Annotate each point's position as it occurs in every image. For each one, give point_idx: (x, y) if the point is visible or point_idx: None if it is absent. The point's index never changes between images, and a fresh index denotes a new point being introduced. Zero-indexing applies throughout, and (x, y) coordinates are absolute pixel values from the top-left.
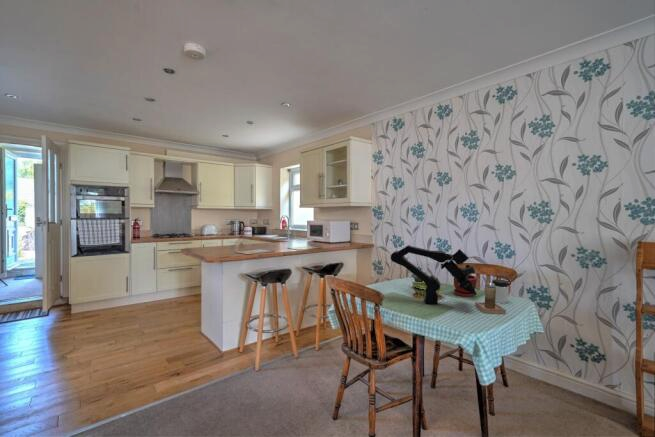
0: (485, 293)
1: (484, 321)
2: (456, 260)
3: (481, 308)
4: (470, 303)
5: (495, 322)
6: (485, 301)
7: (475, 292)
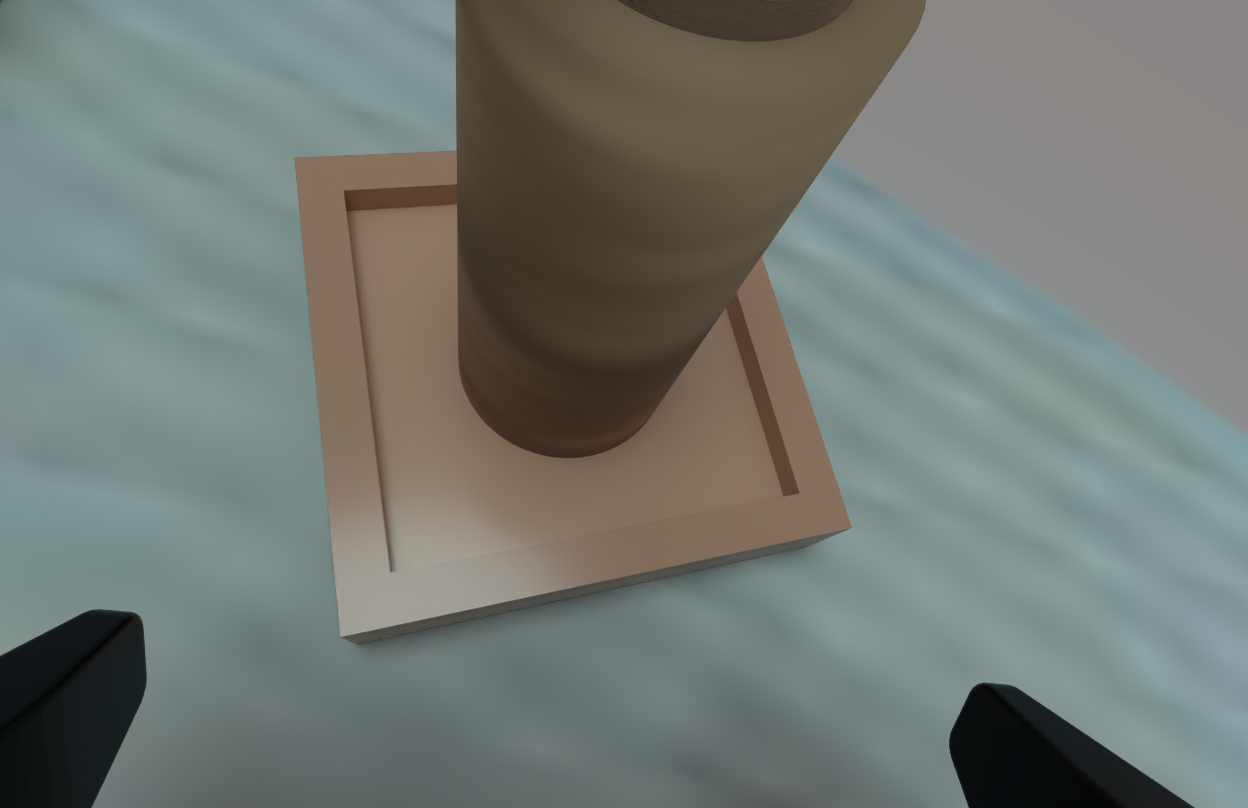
0: (658, 296)
1: (1223, 632)
2: None
3: (718, 559)
4: None
5: (1164, 465)
6: (623, 405)
7: (1088, 754)
